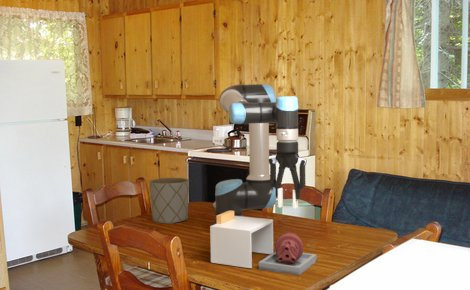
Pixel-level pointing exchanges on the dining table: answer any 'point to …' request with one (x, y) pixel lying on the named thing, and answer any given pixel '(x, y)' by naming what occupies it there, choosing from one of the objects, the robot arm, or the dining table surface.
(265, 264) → the grey shallow tray
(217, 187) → the robot arm
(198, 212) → the dining table surface
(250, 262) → the white open cubby
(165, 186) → the planter
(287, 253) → the mechanical component
